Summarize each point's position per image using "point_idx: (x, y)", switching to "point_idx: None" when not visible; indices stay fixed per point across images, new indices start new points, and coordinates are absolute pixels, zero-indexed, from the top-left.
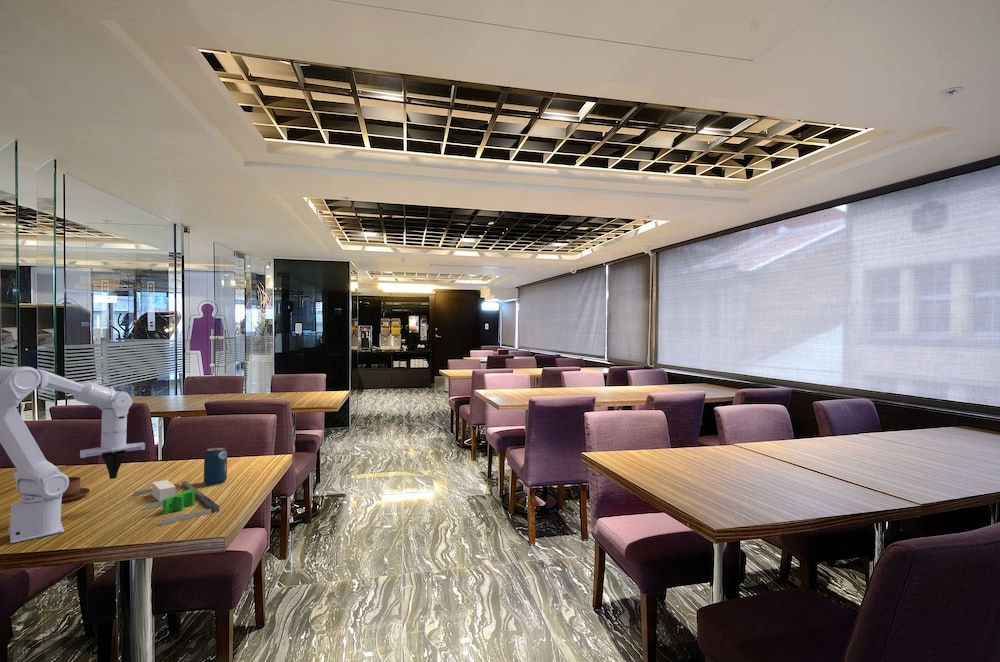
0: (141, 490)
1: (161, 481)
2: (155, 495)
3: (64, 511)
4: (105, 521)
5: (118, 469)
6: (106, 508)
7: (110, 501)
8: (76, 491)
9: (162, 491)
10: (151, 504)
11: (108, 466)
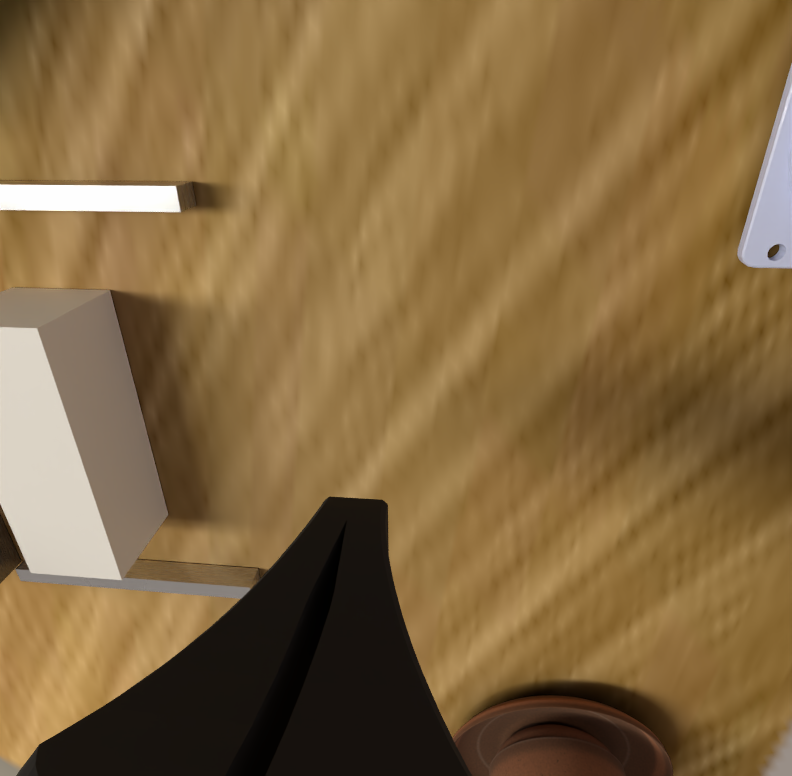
0: (214, 588)
1: (63, 559)
2: (133, 434)
3: (612, 553)
4: (484, 57)
5: (272, 568)
6: (419, 432)
7: None
8: (512, 757)
9: (34, 320)
10: (141, 187)
11: (395, 634)
